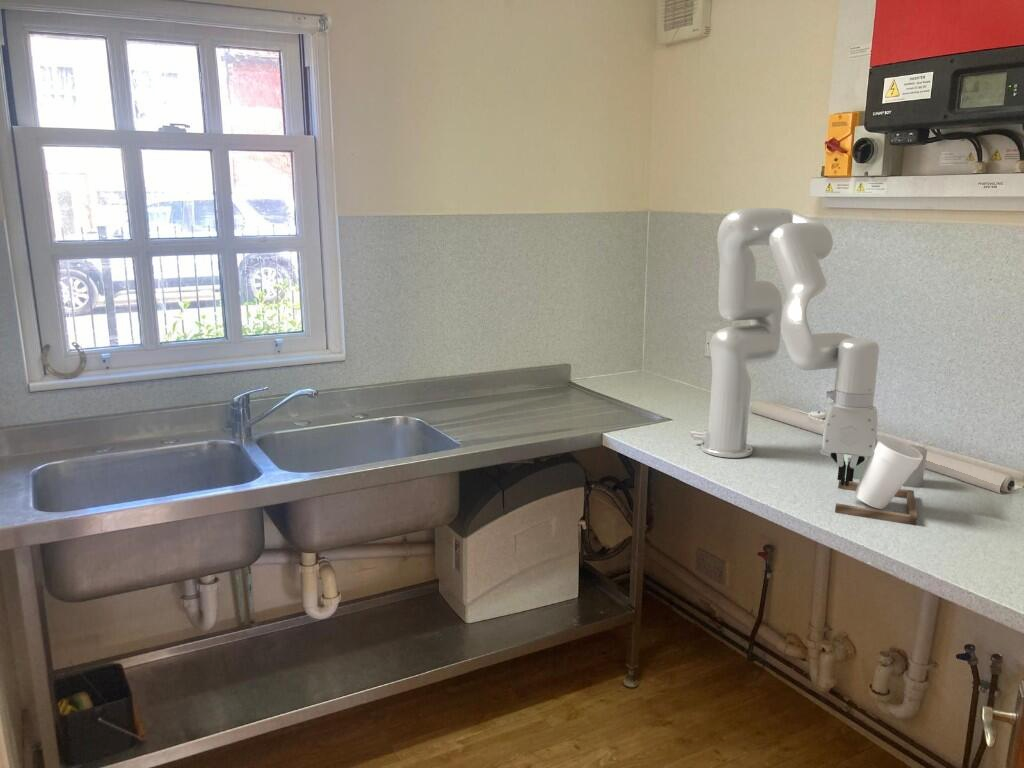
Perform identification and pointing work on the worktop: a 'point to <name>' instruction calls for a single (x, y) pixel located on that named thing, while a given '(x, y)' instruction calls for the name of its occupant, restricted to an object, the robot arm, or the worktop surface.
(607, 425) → the worktop surface
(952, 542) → the worktop surface
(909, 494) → the dark wooden bay
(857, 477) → the sage painted block
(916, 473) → the grey ceramic jar
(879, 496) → the foam cup
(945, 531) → the worktop surface
